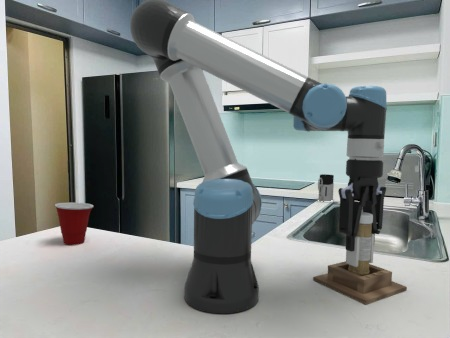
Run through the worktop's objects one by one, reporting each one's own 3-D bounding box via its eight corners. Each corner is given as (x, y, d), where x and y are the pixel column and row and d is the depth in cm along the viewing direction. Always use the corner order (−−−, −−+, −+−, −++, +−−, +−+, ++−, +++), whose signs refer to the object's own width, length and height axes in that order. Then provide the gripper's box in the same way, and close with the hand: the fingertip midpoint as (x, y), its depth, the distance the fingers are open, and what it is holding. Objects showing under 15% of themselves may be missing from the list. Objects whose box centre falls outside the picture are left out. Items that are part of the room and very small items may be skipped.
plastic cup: (97, 244, 105) (97, 205, 104) (58, 249, 99) (58, 208, 98) (89, 236, 114) (88, 199, 113) (52, 240, 108) (52, 202, 107)
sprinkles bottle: (344, 268, 80) (347, 211, 79) (363, 268, 80) (366, 211, 79) (354, 276, 75) (357, 215, 74) (373, 276, 76) (377, 215, 75)
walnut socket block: (365, 304, 68) (366, 284, 68) (313, 280, 80) (313, 263, 80) (406, 290, 76) (407, 272, 75) (353, 269, 88) (353, 254, 87)
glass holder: (336, 201, 196) (337, 175, 194) (325, 204, 185) (326, 176, 184) (321, 199, 201) (322, 174, 200) (310, 202, 191) (311, 175, 190)
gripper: (352, 159, 68) (347, 275, 70) (404, 159, 77) (398, 261, 79) (323, 158, 75) (319, 264, 76) (374, 158, 84) (369, 252, 85)
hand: (359, 262), depth 78 cm, fingers closed on sprinkles bottle, 4 cm apart
